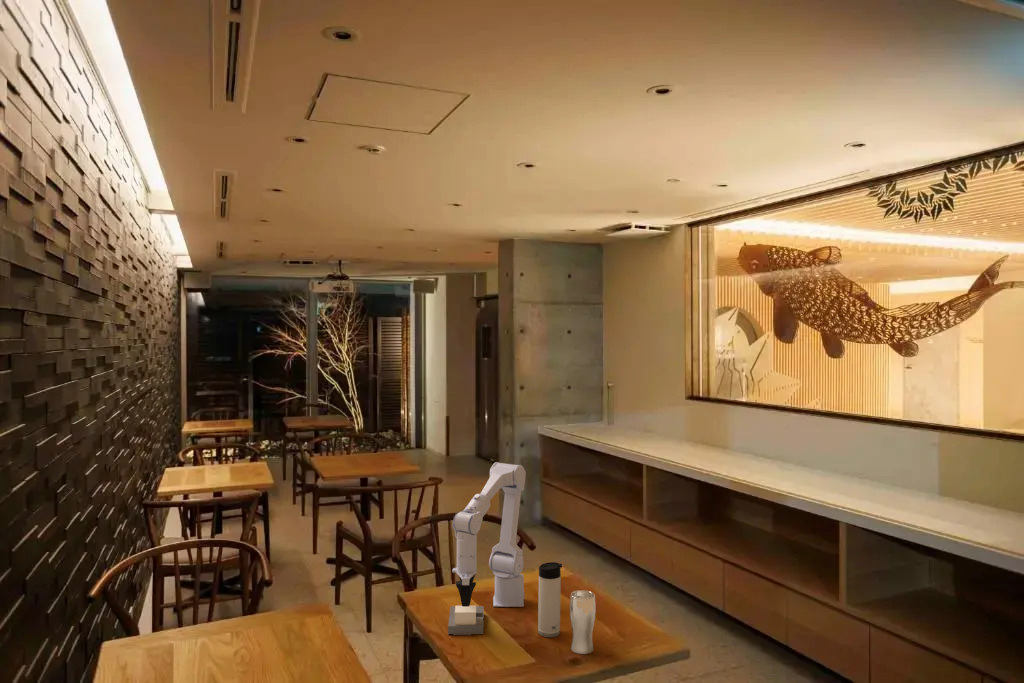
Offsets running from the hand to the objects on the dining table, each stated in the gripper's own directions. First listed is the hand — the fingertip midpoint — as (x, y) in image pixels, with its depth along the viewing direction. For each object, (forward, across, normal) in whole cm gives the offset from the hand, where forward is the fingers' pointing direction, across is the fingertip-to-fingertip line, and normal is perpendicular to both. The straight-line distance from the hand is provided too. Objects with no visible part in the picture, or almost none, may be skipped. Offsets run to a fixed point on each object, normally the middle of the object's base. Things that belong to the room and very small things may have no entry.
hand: (466, 600), depth 203 cm
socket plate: (+8, -4, 0) cm, 9 cm away
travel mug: (+9, +2, +24) cm, 26 cm away
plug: (+8, 0, 0) cm, 8 cm away
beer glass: (+9, +12, +32) cm, 35 cm away
